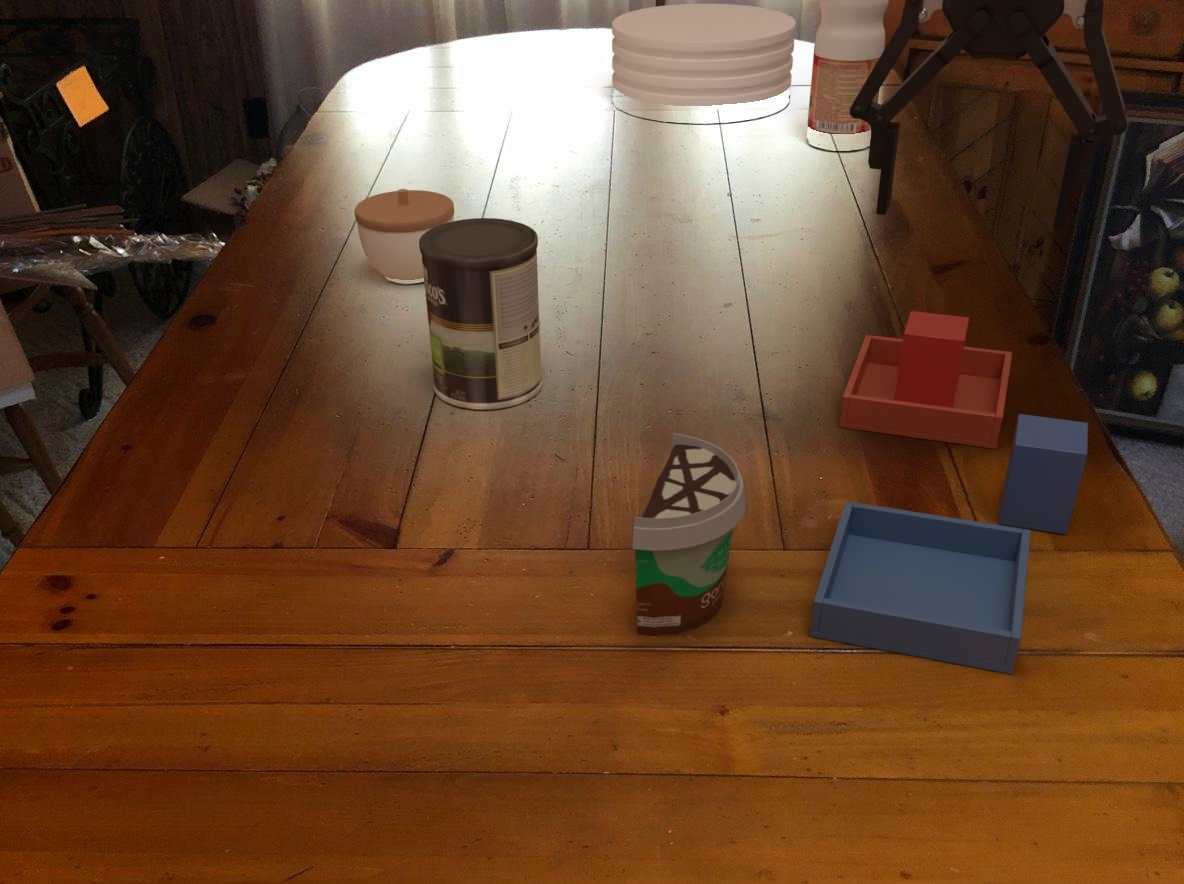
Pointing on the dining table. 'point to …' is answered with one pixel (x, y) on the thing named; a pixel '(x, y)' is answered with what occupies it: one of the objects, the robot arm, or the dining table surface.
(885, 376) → the red tray
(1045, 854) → the dining table surface
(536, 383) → the coffee can
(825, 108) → the fruit juice
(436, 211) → the trinket box
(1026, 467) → the blue block
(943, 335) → the red block
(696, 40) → the plate stack
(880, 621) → the blue tray
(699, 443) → the food container
